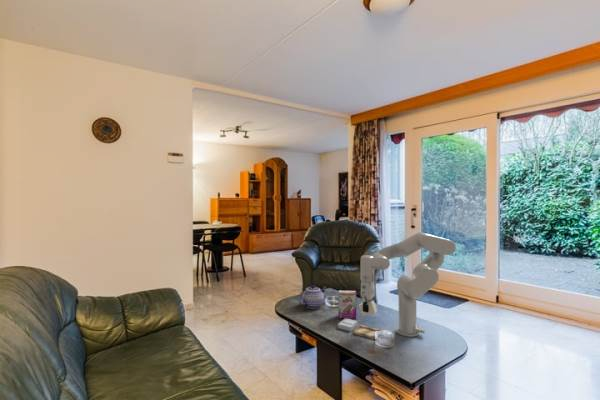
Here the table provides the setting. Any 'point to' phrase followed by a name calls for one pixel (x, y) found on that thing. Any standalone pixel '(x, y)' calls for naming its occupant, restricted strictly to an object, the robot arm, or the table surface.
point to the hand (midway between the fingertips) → (367, 310)
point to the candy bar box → (347, 304)
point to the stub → (371, 308)
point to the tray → (365, 331)
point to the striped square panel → (347, 324)
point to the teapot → (312, 297)
